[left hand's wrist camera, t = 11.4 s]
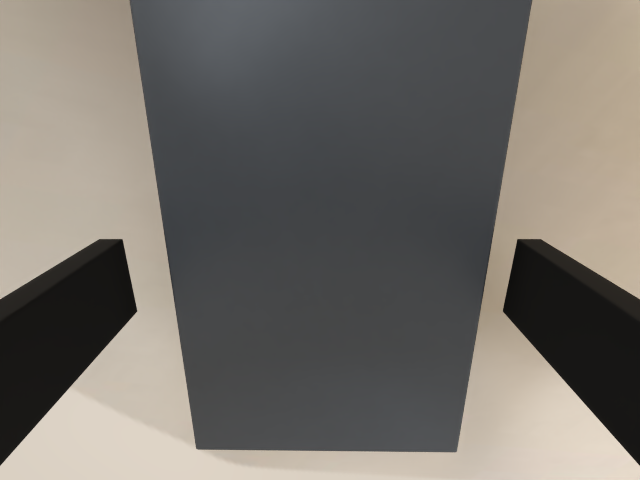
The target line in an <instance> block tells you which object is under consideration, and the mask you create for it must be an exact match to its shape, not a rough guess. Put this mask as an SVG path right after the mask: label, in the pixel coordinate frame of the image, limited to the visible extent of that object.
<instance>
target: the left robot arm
mask: <svg viewBox="0 0 640 480" xmlns="http://www.w3.org/2000/svg"><path fill="white" fill-rule="evenodd" d="M136 312H137V308H136V303H135V298H134V293H133V288H132V284H131V279H130V274H129V269H128V264H127V259H126V254H125V249H124V245H123V240H122V239H99V240H97V241H96V242H94V243H92V244H91V245H89V246H87V247H86V248H84V249H83V250H81V251H79V252H78V253H76V254H74V255H73V256H71V257H69V258H68V259H66V260H64V261H63V262H61V263H59V264H58V265H56V266H55V267H53V268H51V269H50V270H48V271H46V272H45V273H43V274H41V275H40V276H38V277H36V278H35V279H33V280H31V281H30V282H28V283H26V284H25V285H23V286H22V287H20V288H18V289H17V290H15V291H13V292H12V293H10V294H8V295H7V296H5V297H3V298H2V299H0V465H1V464H2V463H3V462H4V461H5V460H6V458H7V457H8V456H9V455H10V454H11V453H12V452H13V451H14V449H15V448H16V447H17V446H18V445H19V444H20V443H21V442H22V440H23V439H24V438H25V437H26V436H27V435H28V434H29V433H30V431H31V430H32V429H33V428H34V427H35V426H36V425H37V424H38V422H39V421H40V420H41V419H42V418H43V417H44V416H45V415H46V413H47V412H48V411H49V410H50V409H51V408H52V407H53V406H54V404H55V403H56V402H57V401H58V400H59V399H60V398H61V397H62V395H63V394H64V393H65V392H66V391H67V390H68V389H69V388H70V386H71V385H72V384H73V383H74V382H75V381H76V380H77V379H78V377H79V376H80V375H81V374H82V373H83V372H84V371H85V369H86V368H87V367H88V366H89V365H90V364H91V363H92V362H93V360H94V359H95V358H96V357H97V356H98V355H99V354H100V353H101V351H102V350H103V349H104V348H105V347H106V346H107V345H108V344H109V342H110V341H111V340H112V339H113V338H114V337H115V336H116V335H117V333H118V332H119V331H120V330H121V329H122V328H123V327H124V326H125V324H126V323H127V322H128V321H129V320H130V319H131V318H132V317H133V315H134V314H135V313H136ZM503 312H504V313H505V314H506V315H507V317H508V318H509V319H510V320H511V321H512V322H513V323H514V324H515V326H516V327H517V328H518V329H519V330H520V331H521V332H522V333H523V335H524V336H525V337H526V338H527V339H528V340H529V341H530V342H531V344H532V345H533V346H534V347H535V348H536V349H537V350H538V351H539V353H540V354H541V355H542V356H543V357H544V358H545V359H546V360H547V362H548V363H549V364H550V365H551V366H552V367H553V368H554V370H555V371H556V372H557V373H558V374H559V375H560V376H561V377H562V379H563V380H564V381H565V382H566V383H567V384H568V385H569V386H570V388H571V389H572V390H573V391H574V392H575V393H576V394H577V395H578V397H579V398H580V399H581V400H582V401H583V402H584V403H585V404H586V406H587V407H588V408H589V409H590V410H591V411H592V412H593V413H594V415H595V416H596V417H597V418H598V419H599V420H600V421H601V422H602V424H603V425H604V426H605V427H606V428H607V429H608V430H609V431H610V433H611V434H612V435H613V436H614V437H615V438H616V439H617V440H618V442H619V443H620V444H621V445H622V446H623V447H624V448H625V449H626V451H627V452H628V453H629V454H630V455H631V456H632V457H633V458H634V460H635V461H636V462H637V463H638V464H639V465H640V299H638V298H637V297H635V296H633V295H632V294H630V293H628V292H627V291H625V290H623V289H622V288H620V287H618V286H617V285H615V284H613V283H612V282H610V281H609V280H607V279H605V278H604V277H602V276H600V275H599V274H597V273H595V272H594V271H592V270H590V269H589V268H587V267H585V266H584V265H582V264H581V263H579V262H577V261H576V260H574V259H572V258H571V257H569V256H567V255H566V254H564V253H562V252H561V251H559V250H557V249H556V248H554V247H553V246H551V245H549V244H548V243H546V242H544V241H543V240H541V239H518V240H517V245H516V249H515V254H514V259H513V264H512V269H511V274H510V279H509V284H508V288H507V293H506V298H505V303H504V308H503Z"/></svg>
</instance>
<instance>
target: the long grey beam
mask: <svg viewBox="0 0 640 480" xmlns="http://www.w3.org/2000/svg"><path fill="white" fill-rule="evenodd" d="M531 4H532V0H130V6H131V13H132V19H133V26H134V33H135V39H136V46H137V53H138V60H139V66H140V73H141V80H142V87H143V93H144V100H145V107H146V113H147V120H148V127H149V134H150V140H151V147H152V154H153V161H154V167H155V174H156V181H157V187H158V194H159V201H160V208H161V214H162V221H163V228H164V235H165V241H166V248H167V255H168V261H169V268H170V275H171V282H172V288H173V295H174V302H175V308H176V315H177V322H178V329H179V335H180V342H181V349H182V356H183V362H184V369H185V376H186V382H187V389H188V396H189V403H190V409H191V416H192V423H193V430H194V436H195V443H196V449H205V450H297V451H389V452H456V451H457V447H458V441H459V435H460V429H461V423H462V417H463V411H464V405H465V399H466V393H467V387H468V381H469V375H470V369H471V363H472V357H473V351H474V345H475V339H476V333H477V327H478V321H479V315H480V309H481V303H482V297H483V291H484V285H485V279H486V273H487V267H488V261H489V255H490V249H491V243H492V237H493V231H494V225H495V219H496V213H497V207H498V201H499V195H500V189H501V183H502V177H503V171H504V165H505V159H506V153H507V147H508V141H509V135H510V129H511V123H512V117H513V111H514V105H515V99H516V93H517V87H518V81H519V75H520V70H521V64H522V58H523V52H524V46H525V40H526V34H527V28H528V22H529V16H530V10H531Z"/></svg>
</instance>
